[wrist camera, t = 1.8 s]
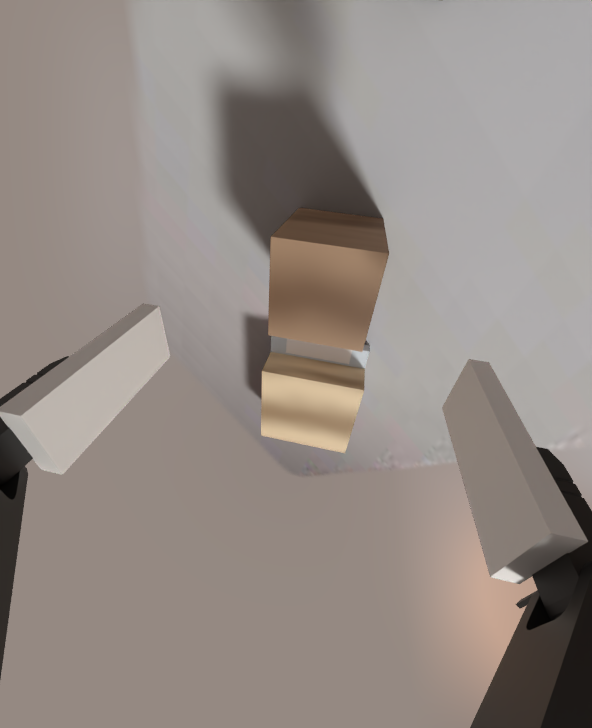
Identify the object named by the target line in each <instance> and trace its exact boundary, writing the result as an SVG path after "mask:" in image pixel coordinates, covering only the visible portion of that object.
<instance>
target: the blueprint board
mask: <svg viewBox="0 0 592 728" xmlns="http://www.w3.org/2000/svg"><path fill="white" fill-rule="evenodd" d="M271 352H275V353H280V354H286V355H291V356H297V357H302V358H308V359H313V360H319V361H324V362H330V363H335V364H341V365H346V366H351V367H357V368H362V369H365V366H366V362H367V359H368V355H369V352H370V345H365V344H364V348H363V351H362V352H360V351H354V350H348V349H343V348H337V347H332V346H326V345H320V344H315V343H309V342H303V341H298V340H292V339H287V338H281V337H275V336H271Z"/></svg>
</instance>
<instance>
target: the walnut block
mask: <svg viewBox="0 0 592 728" xmlns="http://www.w3.org/2000/svg"><path fill="white" fill-rule="evenodd" d="M388 256H389V250H388V244H387V238H386V232H385V226H384V220H383V218H375V217H368V216H360V215H352V214H345V213H337V212H330V211H322V210H314V209H307V208H298V209H297V210H296V211H295V212H294V213H293V214H292V216H291V217H290V218H289V219H288V220H287V221H286V222H285V223H284V224H283V225H282V226H281V227H280V228H279V229H278V230H277V231H276V232H275V233H274V234H273V235H272V236H271V245H270V283H269V320H268V335H270V336H275V337H281V338H287V339H292V340H298V341H303V342H309V343H315V344H320V345H326V346H332V347H337V348H343V349H348V350H354V351H360V352H362V351H363V348H364V344H365V340H366V337H367V333H368V329H369V326H370V322H371V318H372V314H373V311H374V307H375V303H376V300H377V296H378V292H379V289H380V285H381V281H382V278H383V274H384V270H385V267H386V263H387V259H388Z"/></svg>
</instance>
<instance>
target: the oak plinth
mask: <svg viewBox="0 0 592 728" xmlns="http://www.w3.org/2000/svg"><path fill="white" fill-rule="evenodd" d="M364 373H365V369H362V368H357V367H351V366H346V365H341V364H335V363H330V362H324V361H319V360H313V359H308V358H302V357H297V356H291V355H286V354H280V353H275V352H270V354H269V357H268V359H267V361H266V363H265V365H264V368H263V370H262V410H261V435H262V436H266V437H271V438H276V439H281V440H285V441H290V442H295V443H299V444H304V445H309V446H313V447H318V448H323V449H328V450H332V451H337V452H342V453H345V451H346V448H347V445H348V441H349V438H350V435H351V432H352V428H353V425H354V422H355V419H356V415H357V412H358V409H359V406H360V402H361V399H362V396H363V393H364Z"/></svg>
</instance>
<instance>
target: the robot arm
mask: <svg viewBox="0 0 592 728" xmlns="http://www.w3.org/2000/svg"><path fill="white" fill-rule="evenodd" d="M169 357H170V353H169V349H168V344H167V339H166V335H165V330H164V326H163V321H162V317H161V312H160V308H159V306H155V305H149V304H142V305H140V306H139V307H137V308H136V309H135V310H133V311H132V312H131V313H129V314H128V315H126V316H125V317H124V318H122V319H121V320H119V321H118V322H117V323H115V324H114V325H113V326H111V327H110V328H108V329H107V330H106V331H104V332H103V333H101V334H100V335H99V336H97V337H96V338H95V339H93V340H92V341H90V342H89V343H88V344H86V345H85V346H84V347H82V348H81V349H79V350H78V351H77V352H75V353H74V354H73V355H71V356H70V357H68V356H67V357H65V358H62V359H60V360H58V361H55V362H53V363H51V364H49V365H48V366H46V367H45V368H44V369H42V370H41V371H39V372H38V373H37V375H34V376H32V377H31V378H29V379H28V380H27V381H26V383H22V384H21V385H19V386H18V387H17V388H15V389H14V390H12V391H11V392H9V393H8V394H6V395H5V396H4V397H2V398H1V399H0V678H1V670H2V663H3V655H4V648H5V641H6V633H7V626H8V618H9V611H10V603H11V596H12V589H13V581H14V573H15V566H16V559H17V552H18V544H19V537H20V529H21V522H22V515H23V507H24V500H25V493H26V484H27V478H28V472H27V468H26V467H25V465H26V464H27V463H28V462H29V461H30V460H31V459H33V460H34V461H35V462H36V464H37V465H38V466H39V468H40V469H42V470H45V471H49V472H54V473H57V474H62V475H63V474H64V472H65V471H66V470H67V469H68V468H69V467H70V466H71V465H72V464H73V463H74V461H75V460H76V459H77V458H78V457H79V456H80V455H81V454H82V453H83V451H84V450H85V449H86V448H87V447H88V446H89V445H90V444H91V443H92V442H93V440H95V438H96V437H97V436H98V435H99V434H100V433H101V432H102V431H103V430H104V429H105V427H106V426H107V425H108V424H109V423H110V422H111V421H112V420H113V419H114V417H116V415H117V414H118V413H119V412H120V411H121V410H122V409H123V408H124V407H125V405H127V403H128V402H129V401H130V400H131V399H132V398H133V397H134V396H135V395H136V394H137V392H138V391H139V390H140V389H141V388H142V387H143V386H144V385H145V384H146V383H147V381H148V380H149V379H150V378H151V377H152V376H153V375H154V374H155V373H156V372H157V370H158V369H159V368H160V367H161V366H162V365H163V364H164V363H165V362H166V361H167V360H168V359H169ZM442 409H443V412H444V416H445V420H446V423H447V427H448V430H449V434H450V437H451V441H452V444H453V448H454V451H455V455H456V458H457V462H458V465H459V469H460V472H461V476H462V479H463V483H464V486H465V490H466V493H467V497H468V500H469V504H470V507H471V511H472V514H473V518H474V521H475V525H476V528H477V532H478V536H479V539H480V542H481V546H482V549H483V553H484V557H485V560H486V564H487V567H488V571H489V574H490V577H492V578H497V579H501V580H505V581H509V582H514V583H517V584H520V583H522V582H523V581H525V580H527V579H528V578H530V577H532V576H533V579H534V581H535V584H536V587H537V589H538V590H537V591H536V592H534V593H532V594H530V595H529V596H527V597H525V598H523V599H521V600H520V601H519V602H518V603H517V604H516V605H517V606H518V607H519V608H522V607H524V606H526V605H527V607H526V609H525V611H524V613H523V615H522V617H521V619H520V622H519V624H518V626H517V628H516V630H515V632H514V634H513V637H512V639H511V641H510V643H509V646H508V647H507V650H506V652H505V654H504V656H503V658H502V660H501V662H500V665H499V667H498V669H497V671H496V673H495V676H494V677H493V680H492V682H491V684H490V686H489V688H488V691H487V693H486V695H485V697H484V699H483V702H482V703H481V705H480V708H479V710H478V712H477V714H476V716H475V718H474V721H473V723H472V725H471V727H470V728H592V511H591V509H590V508H589V506H588V504H587V503H586V501H585V499H584V498H582V497H581V493H580V491H579V490H578V488H577V486H576V485H575V484H573V480H572V478H571V476H570V475H569V473H568V471H567V470H566V468H565V467H564V465H563V464H562V463H561V462H560V461H559V460H558V459H557V458H556V457H555V456H554V455H553V454H552V453H551V452H550V451H549V450H548V449H544V448H539V447H536V446H535V444H534V443H533V441H532V439H531V437H530V435H529V434H528V432H527V430H526V428H525V426H524V425H523V423H522V421H521V419H520V417H519V416H518V414H517V412H516V410H515V408H514V407H513V405H512V403H511V401H510V399H509V398H508V396H507V394H506V392H505V390H504V389H503V387H502V385H501V383H500V381H499V380H498V378H497V376H496V374H495V372H494V371H493V369H492V367H491V365H490V363H489V362H483V361H477V360H471V359H469V360H468V362H467V363H466V365H465V367H464V369H463V371H462V372H461V374H460V376H459V378H458V380H457V382H456V383H455V385H454V387H453V389H452V391H451V393H450V394H449V396H448V398H447V400H446V402H445V403H444V405H443V407H442Z"/></svg>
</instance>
